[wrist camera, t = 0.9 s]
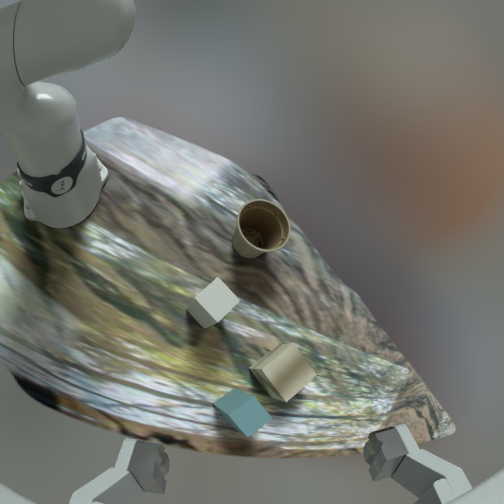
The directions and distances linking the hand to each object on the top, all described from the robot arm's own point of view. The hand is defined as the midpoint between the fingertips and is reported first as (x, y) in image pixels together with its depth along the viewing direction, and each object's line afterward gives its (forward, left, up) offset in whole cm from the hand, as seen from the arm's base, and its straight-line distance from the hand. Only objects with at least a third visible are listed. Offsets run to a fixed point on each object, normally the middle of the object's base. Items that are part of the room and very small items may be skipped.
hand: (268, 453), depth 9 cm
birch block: (+9, +14, -38) cm, 41 cm away
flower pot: (-13, +24, -38) cm, 47 cm away
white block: (-7, +10, -38) cm, 40 cm away
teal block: (+9, +4, -38) cm, 39 cm away
